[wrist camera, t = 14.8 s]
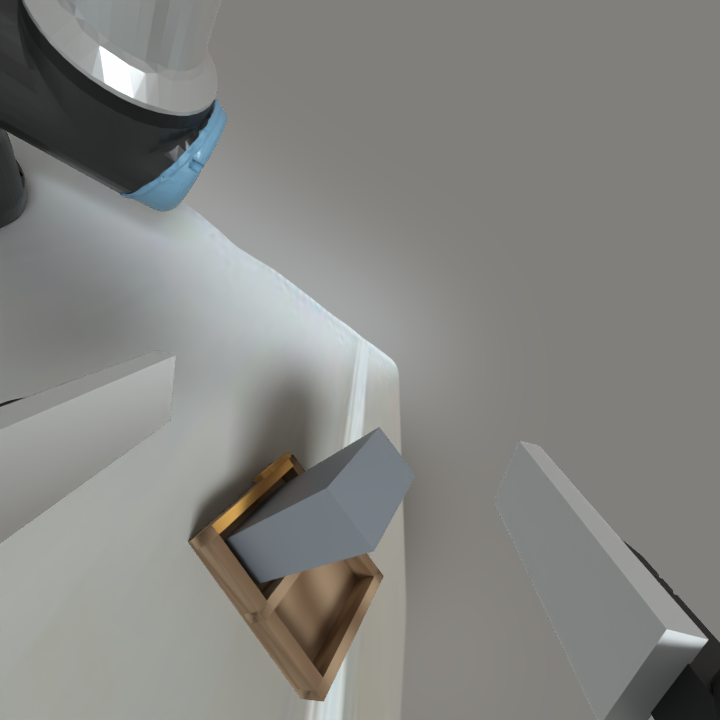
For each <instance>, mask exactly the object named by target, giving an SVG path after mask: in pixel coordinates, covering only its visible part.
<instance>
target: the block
mask: <svg viewBox="0 0 720 720" xmlns="http://www.w3.org/2000/svg"><path fill="white" fill-rule="evenodd" d="M414 477H415V473H414V472H413V471H412V470H411V468H410V467H409V465H408V464H407V463H406V462H405V460H404V459H403V458H402V456H401V455H400V454H399V452H398V451H397V450H396V448H395V447H394V446H393V444H392V443H391V442H390V440H389V439H388V438H387V437H386V435H385V434H384V433H383V431H382V430H381V429H380V427H379V428H377V429H375V430H374V431H372V432H370V433H369V434H367V435H365V436H364V437H362V438H360V439H359V440H357V441H355V442H354V443H352V444H350V445H349V446H347V447H345V448H344V449H342V450H340V451H339V452H337V453H335V454H334V455H332V456H330V457H329V458H327V459H325V460H323V461H322V462H320V463H318V464H317V465H315V466H313V467H312V468H310V469H308V470H307V471H305V472H303V473H302V474H300V475H298V476H297V477H295V478H293V479H292V480H290V481H288V482H287V483H285V484H283V485H282V486H280V487H278V488H277V489H276V490H275V491H274V492H273V493H272V494H271V495H270V496H269V497H268V498H267V499H266V500H265V501H264V502H263V503H261V504H260V505H259V506H258V507H257V508H256V509H255V510H254V511H253V512H252V513H251V514H250V515H249V516H248V517H247V518H246V519H245V520H244V521H242V522H241V523H240V524H239V525H238V526H237V527H236V528H235V529H234V530H233V531H232V532H231V533H230V534H229V535H228V536H227V537H226V538H225V539H223V541H224V542H225V544H226V545H227V546H228V548H229V549H230V551H231V552H232V553H233V555H234V556H235V557H236V559H237V560H238V562H239V563H240V564H241V566H242V567H243V568H244V570H245V571H246V573H247V574H248V575H249V577H250V578H251V579H252V581H253V582H254V584H255V585H256V584H260V583H263V582H267V581H270V580H274V579H277V578H281V577H284V576H288V575H291V574H295V573H298V572H302V571H305V570H309V569H312V568H316V567H319V566H323V565H327V564H330V563H334V562H337V561H341V560H344V559H348V558H351V557H355V556H358V555H362V554H365V553H369V552H372V551H374V550H375V549H376V547H377V545H378V543H379V541H380V539H381V538H382V536H383V534H384V532H385V530H386V528H387V527H388V525H389V523H390V521H391V519H392V517H393V516H394V514H395V512H396V510H397V508H398V507H399V505H400V503H401V501H402V499H403V497H404V496H405V494H406V492H407V490H408V488H409V486H410V484H411V483H412V481H413V479H414Z"/></svg>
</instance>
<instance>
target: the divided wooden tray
mask: <svg viewBox="0 0 720 720" xmlns="http://www.w3.org/2000/svg"><path fill="white" fill-rule="evenodd" d="M303 472H305V470H304V469H303V468H302V466H301V465H300V464H299V462H298V461H297V460H296V458H295V457H294V455H290V453H289V452H287V453H286V454H285V455H283V456H282V457H280V458H279V459H277V460H276V461H275V462H273V463H272V464H270V465H269V466H268V467H267V468H266V469H264V470H263V471H262V472H261V473H260V474H259V475H257V476H256V477H255V478H254V479H253V481H254V482H255V483H256V484H255V485H253V486H252V487H251V488H250V489H249V490H248V491H246V492H245V493H244V494H243V495H242V496H241V497H239V498H238V499H237V500H236V501H235V502H234V503H233V504H231V505H230V506H229V507H228V508H227V509H226V510H224V511H223V512H222V513H221V514H220V515H219V516H217V517H216V518H215V519H214V520H213V521H212V522H210V523H209V524H208V525H207V526H206V527H205V528H203V529H202V530H201V531H200V532H199V533H198V534H197V535H195V536H194V537H193V538H192V539H191V540H190V541H188V542H189V544H190V545H191V547H192V548H193V549H194V551H195V552H196V554H197V555H198V556H199V558H200V559H201V560H202V562H203V563H204V565H205V566H206V567H207V569H208V570H209V572H210V573H211V574H212V576H213V577H214V578H215V580H216V581H217V583H218V584H219V585H220V587H221V588H222V590H223V591H224V592H225V594H226V595H227V596H228V598H229V599H230V601H231V602H232V603H233V605H234V606H235V608H236V609H237V610H238V612H239V613H240V614H241V616H242V617H243V619H244V620H245V621H246V623H247V624H248V626H249V627H250V628H251V630H252V631H253V633H254V634H255V635H256V637H257V638H258V639H259V641H260V642H261V644H262V645H263V646H264V648H265V649H266V651H267V652H268V653H269V655H270V656H271V657H272V659H273V660H274V662H275V663H276V664H277V666H278V667H279V669H280V670H281V671H282V673H283V674H284V675H285V677H286V678H287V680H288V681H289V682H290V684H291V685H292V687H293V688H294V689H295V691H296V692H297V693H298V695H299V696H300V698H301V699H308V700H316V701H324V699H325V697H326V695H327V693H328V691H329V689H330V687H331V685H332V683H333V681H334V679H335V677H336V674H337V672H338V670H339V668H340V666H341V664H342V662H343V660H344V658H345V656H346V654H347V651H348V649H349V647H350V645H351V643H352V641H353V639H354V637H355V635H356V633H357V631H358V628H359V626H360V624H361V622H362V620H363V618H364V616H365V614H366V612H367V610H368V608H369V606H370V603H371V601H372V599H373V597H374V595H375V593H376V591H377V589H378V587H379V585H380V583H381V580H382V578H383V575H382V573H381V572H380V571H379V569H378V568H377V567H376V565H375V564H374V563H373V561H372V560H371V559H370V557H369V556H368V555H367V553H365V554H362V555H358V556H355V557H351V558H348V559H344V560H341V561H337V562H334V563H330V564H327V565H323V566H319V567H316V568H312V569H309V570H305V571H302V572H298V573H295V574H291V575H288V576H284V577H281V578H277V579H274V580H270V581H267V582H263V583H260V584H256V585H255V584H254V582H253V581H252V579H251V578H250V577H249V575H248V574H247V573H246V571H245V570H244V568H243V567H242V566H241V564H240V563H239V562H238V560H237V559H236V557H235V556H234V555H233V553H232V552H231V551H230V549H229V548H228V546H227V545H226V544H225V542H224V541H223V539H225V538H226V537H227V536H228V535H229V534H230V533H231V532H232V531H233V530H234V529H235V528H236V527H237V526H238V525H239V524H240V523H241V522H242V521H244V520H245V519H246V518H247V517H248V516H249V515H250V514H251V513H252V512H253V511H254V510H255V509H256V508H257V507H258V506H259V505H260V504H261V503H263V502H264V501H265V500H266V499H267V498H268V497H269V496H270V495H271V494H272V493H273V492H274V491H275V490H276V489H277V488H278V487H280V486H282V485H283V484H285V483H287V482H288V481H290V480H292V479H293V478H295V477H297V476H298V475H300V474H302V473H303Z"/></svg>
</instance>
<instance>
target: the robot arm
mask: <svg viewBox="0 0 720 720" xmlns="http://www.w3.org/2000/svg"><path fill="white" fill-rule="evenodd" d="M221 1H222V0H0V227H2V226H5V225H7V224H9V223H11V222H13V221H14V220H15V219H17V218H18V217H19V216H20V215H21V213H22V212H23V210H24V208H25V203H26V191H27V185H26V179H25V176H24V174H23V171H22V169H21V167H20V165H19V164H18V162H17V161H16V159H15V156H14V153H13V149H12V146H11V143H10V140H9V137H8V135H7V132H9V133H11V134H13V135H15V136H16V137H18V138H20V139H22V140H24V141H25V142H27V143H29V144H31V145H33V146H35V147H36V148H38V149H40V150H42V151H44V152H45V153H47V154H49V155H51V156H53V157H55V158H56V159H58V160H60V161H62V162H64V163H66V164H67V165H69V166H71V167H73V168H75V169H76V170H78V171H80V172H82V173H84V174H86V175H87V176H89V177H91V178H93V179H95V180H96V181H98V182H100V183H102V184H104V185H106V186H107V187H109V188H111V189H113V190H115V191H116V192H118V193H120V195H122V196H124V197H126V198H132V199H134V200H136V201H139V202H141V203H143V204H145V205H147V206H149V207H151V208H153V209H155V210H158V211H169V210H172V209H174V208H175V207H177V206H178V205H179V204H180V202H181V201H182V200H183V198H184V197H185V196H186V194H187V193H188V192H189V190H190V189H191V187H192V186H193V184H194V182H195V181H196V179H197V177H198V176H199V174H200V170H201V169H202V168H203V167H204V165H205V163H206V162H207V160H208V159H209V157H210V156H211V154H212V152H213V150H214V148H215V146H216V144H217V143H218V141H219V139H220V136H221V134H222V132H223V130H224V128H225V125H226V122H227V114H226V112H225V110H224V109H223V108H222V107H221V106H220V104H219V102H218V100H216V99H215V96H216V93H217V84H218V78H217V73H216V69H215V66H214V63H213V60H212V58H211V55H210V53H209V51H208V49H207V46H208V42H209V39H210V36H211V33H212V30H213V26H214V23H215V20H216V17H217V14H218V10H219V7H220V4H221ZM6 131H7V132H6ZM175 357H176V355H173V354H169V353H165V352H161V351H157V350H155V351H152V352H149V353H147V354H144V355H141V356H138V357H136V358H133V359H130V360H127V361H125V362H122V363H119V364H117V365H114V366H111V367H108V368H106V369H103V370H100V371H97V372H95V373H92V374H89V375H86V376H84V377H81V378H78V379H75V380H73V381H70V382H67V383H65V384H62V385H59V386H56V387H54V388H51V389H48V390H45V391H43V392H40V393H37V394H34V395H32V396H29V397H25V398H20V399H15V400H10V401H7V402H5V403H2V404H0V543H1V542H3V541H4V540H6V539H7V538H8V537H10V536H11V535H13V534H14V533H15V532H17V531H18V530H19V529H21V528H22V527H24V526H25V525H26V524H28V523H29V522H31V521H32V520H33V519H35V518H36V517H38V516H39V515H40V514H42V513H43V512H44V511H46V510H47V509H49V508H50V507H51V506H53V505H54V504H56V503H57V502H58V501H60V500H61V499H62V498H64V497H65V496H67V495H68V494H69V493H71V492H72V491H74V490H75V489H76V488H78V487H79V486H80V485H82V484H83V483H85V482H86V481H87V480H89V479H90V478H92V477H93V476H94V475H96V474H97V473H99V472H100V471H101V470H103V469H104V468H105V467H107V466H108V465H110V464H111V463H112V462H114V461H115V460H117V459H118V458H119V457H121V456H122V455H123V454H125V453H126V452H128V451H129V450H130V449H132V448H133V447H135V446H136V445H137V444H139V443H140V442H141V441H143V440H144V439H146V438H147V437H148V436H150V435H151V434H153V433H154V432H155V431H157V430H158V429H159V428H161V427H162V426H164V425H165V424H166V423H168V422H169V421H170V419H171V407H172V395H173V382H174V370H175ZM494 503H495V505H496V507H497V510H498V512H499V514H500V516H501V518H502V520H503V522H504V524H505V526H506V529H507V531H508V533H509V535H510V537H511V539H512V541H513V543H514V546H515V548H516V550H517V552H518V554H519V556H520V558H521V560H522V563H523V565H524V567H525V569H526V571H527V573H528V575H529V577H530V580H531V582H532V584H533V586H534V588H535V590H536V592H537V594H538V597H539V599H540V601H541V603H542V605H543V607H544V609H545V611H546V614H547V616H548V618H549V620H550V622H551V624H552V626H553V628H554V630H555V632H556V635H557V637H558V639H559V641H560V643H561V645H562V647H563V650H564V652H565V654H566V656H567V658H568V660H569V662H570V664H571V666H572V669H573V671H574V673H575V675H576V677H577V679H578V681H579V683H580V686H581V688H582V690H583V692H584V694H585V696H586V698H587V701H588V703H589V705H590V707H591V709H592V711H593V713H594V715H595V717H596V720H648V719H649V718H650V716H651V715H652V716H653V718H654V719H655V720H720V642H718V640H717V639H716V638H715V637H714V636H713V635H712V634H711V632H710V631H709V630H708V629H707V628H706V627H705V626H704V625H703V624H702V622H701V621H700V620H699V619H698V618H697V617H696V616H695V615H694V614H693V612H692V611H691V610H690V609H689V608H688V607H687V606H686V605H685V603H684V602H683V601H682V600H681V599H680V598H679V597H678V596H677V595H674V594H673V590H672V589H671V588H670V587H669V586H668V584H667V583H666V582H665V581H664V580H663V579H661V578H659V575H658V573H657V572H656V571H655V570H654V569H653V568H652V567H651V566H650V564H648V562H647V561H646V560H645V559H644V558H643V557H642V556H641V555H640V554H639V553H637V552H636V551H635V550H634V549H633V548H631V547H630V546H629V545H628V544H627V543H625V542H624V541H623V540H622V539H620V538H619V536H618V535H617V534H616V533H615V532H614V531H613V530H612V529H611V527H610V526H609V525H608V524H607V523H606V522H605V520H604V519H603V518H602V517H601V516H600V515H599V514H598V512H597V511H596V510H595V509H594V508H593V507H592V506H591V504H590V503H589V502H588V501H587V500H586V499H585V497H584V496H583V495H582V494H581V493H580V492H579V491H578V489H577V488H576V487H575V486H574V485H573V484H572V483H571V482H570V480H569V479H568V478H567V477H566V476H565V475H564V473H563V472H562V471H561V470H560V469H559V468H558V467H557V465H556V464H555V463H554V462H553V461H552V460H551V459H550V457H549V456H548V455H547V454H546V453H545V452H544V451H543V449H542V448H541V447H540V446H539V445H534V444H531V443H527V442H523V441H519V442H518V444H517V447H516V449H515V452H514V454H513V456H512V459H511V461H510V463H509V466H508V468H507V470H506V473H505V475H504V477H503V480H502V482H501V485H500V487H499V489H498V492H497V494H496V497H495V499H494Z"/></svg>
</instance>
